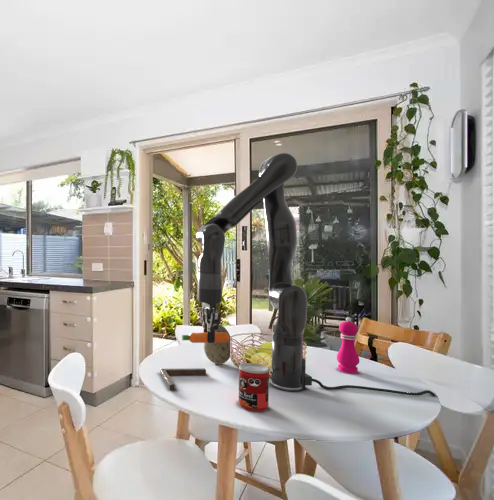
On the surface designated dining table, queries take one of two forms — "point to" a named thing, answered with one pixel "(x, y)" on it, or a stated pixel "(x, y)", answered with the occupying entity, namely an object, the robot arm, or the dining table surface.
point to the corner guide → (167, 372)
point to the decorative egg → (218, 349)
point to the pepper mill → (348, 348)
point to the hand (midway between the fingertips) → (208, 340)
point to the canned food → (253, 386)
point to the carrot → (202, 337)
